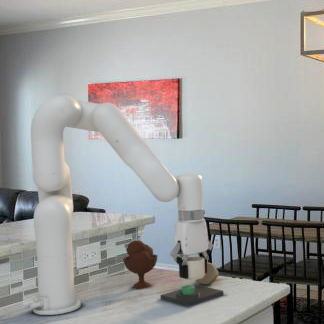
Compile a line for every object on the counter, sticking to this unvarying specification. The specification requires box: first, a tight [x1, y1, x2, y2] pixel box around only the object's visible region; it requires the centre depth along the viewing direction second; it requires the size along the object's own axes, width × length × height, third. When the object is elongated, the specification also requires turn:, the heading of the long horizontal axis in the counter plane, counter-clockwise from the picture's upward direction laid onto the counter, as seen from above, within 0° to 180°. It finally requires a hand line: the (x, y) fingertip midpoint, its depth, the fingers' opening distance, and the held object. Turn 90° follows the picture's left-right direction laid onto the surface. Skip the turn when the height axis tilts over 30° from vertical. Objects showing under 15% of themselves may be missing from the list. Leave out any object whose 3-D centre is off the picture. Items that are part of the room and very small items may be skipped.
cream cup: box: [182, 256, 205, 281], centre depth 162 cm, size 7×7×6 cm
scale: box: [160, 284, 224, 307], centre depth 159 cm, size 15×13×3 cm
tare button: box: [181, 284, 195, 295], centre depth 153 cm, size 4×4×2 cm
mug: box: [196, 261, 219, 286], centre depth 176 cm, size 8×10×10 cm
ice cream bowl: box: [122, 240, 159, 290], centre depth 174 cm, size 11×11×15 cm
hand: (193, 274), depth 162 cm, fingers closed on cream cup, 6 cm apart
